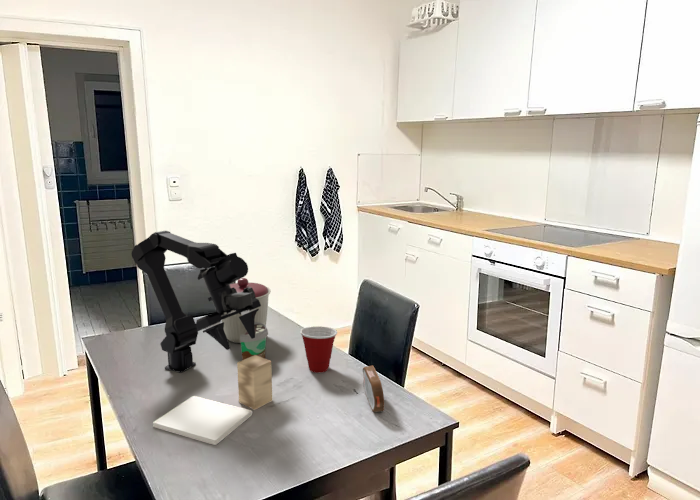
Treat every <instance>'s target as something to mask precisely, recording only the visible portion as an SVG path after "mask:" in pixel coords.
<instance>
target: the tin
mask: <svg viewBox="0 0 700 500" xmlns="http://www.w3.org/2000/svg"><path fill="white" fill-rule="evenodd" d="M362 373H363V383H362V385H363V389H364V393H365V397H366V400H367V402H368V404H369V408H370V410H371V412H373V413H378V412H379V413H380V412H384V411H385V395H384V390H383V389H384V388H383V385H382V382H381V379H380V377H379V374H378V372H377V370H376V368H375V367H374V365H367V366H364V367H363V368H362Z"/></svg>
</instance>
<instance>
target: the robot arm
mask: <svg viewBox="0 0 700 500" xmlns="http://www.w3.org/2000/svg"><path fill="white" fill-rule="evenodd" d="M167 251H170V252H172V253H175V254H177V255H179V256H182V257H184V258H186V260H187V262H188V263H189V264H190V265H192V266H193V267H195V268H196V269H198V270H200V271H199V274H198V275H197V280H198V281H199V280H204V284H205V286H206V289H207V291H208V294H209V297H207V300H208V302H210V303H211V302H212V303H213V306H214V309H215V311H214V312H212V313H210V314H207V315H205V316H202V317H200V318H198V319H196V320H195V318H194V316H193V315H192V314H189V315H187V314H186V313H185V312H184V311H183V310H182V306H181V304H180V302H179V300H178V298H177V295H176V293H175V290H174V289H173V285H172V283H171V281H170V278H169V276H168V274H167V272H166V269H165V263H166V255H165V253H166V252H167ZM131 257H132V259H133V261H134V263H135V265H136V266H137V268H138V269H139V270H140V271H142V272H143V273H145V274H146V275H147V278H148V280H149V282H150V284H151V287H152V289H153V291H154V294H155V296H156V298H157V301H158V303H159V305H160V308H161V310H162V313H163V316H164V318H165V326H164V333H165V337H164V338H163V339H162V340H161V341H160V348H161V351H163V352H166V353H167V362H168V365H166V366H164V369H165V370H168V371H173V372H177V373H184V371H187V370H188V369H190V368H192V367H194V366H196V364H197V363H196V362H195V361H194V360H193V352H192V346H193V345H197V341H198V340H197V339H198V335H199V331H202V330H203V331H202V332H203V333H206V334H207V335H209V336H210V337H211V338H212V339H214V340H215V341H216V342H218V343H219V345H220V346H222V347H223V348H224V349H225V350H226V351H228V350H231V347H230V343H229V340H228V339H227V337H226V334H225V332H224V322H223V323H222V320H223V319H225V318H228V317H230V316H233V315H236V314H238V313H239V314H240V315H242V316H240V317H239V319H240V320H241V322H242V324H243V325H244V327H245V329H246V331H247V332H248V334H249V336H250V337H251V338H252V339H253V338H255V324H254V321H255V315H256V312H257V311H259V309H256V308H258V307H260V306H261V304H260V302H259V300H258V299H257V298H255V292H254V290H253V289H252V287H248V288H245V289H244V290H243V292H239V293H237V291H236V289H235V288H231V287H230V284H234V282H236V281H237V282H238V280H239V279H241V278H245V277H246V276H247V275H248V272H249V266H248V263H247V262H246V261H245V260H244V259H243V258H242V257H240V256H238V254H237V253H236V252H233V253H232V252H231V253H229V254H227V253H226V252H224V251H223V250H222V249H221V248H220V247H219V245H218V244H216V243H209V242H196V241H193V240H190V239H189V238H188V239H187V238H185V237H182V236H179V235H177V234H175V233H171V231H168V230H161V231H155V232H153V233H151V234H150V236H148V237H147V238H145V239H144V240H143V241H142V240H141V241H140V242H138V243H137V244H136V245H134V246H133V249H132V250H131ZM255 309H256V310H255ZM232 310H233V311H232ZM231 311H232V312H231ZM225 312H226V313H227V314H224V313H225ZM203 333H202V334H203Z"/></svg>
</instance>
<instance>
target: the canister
mask: <svg viewBox="0 0 700 500" xmlns="http://www.w3.org/2000/svg"><path fill="white" fill-rule="evenodd" d="M230 287H231V288H235V289H236V291H237V293H239V292H243V290H244V289H245V288H248V287H252V289H253V290H254V292H255V298H257V299H258V300H259V302H260V304H261V306H260V307H258V308H256V309H259V311H257V312H256V315H255V321H254V324H255V322H259V323H263V324H265V325H266V326H267V319H268V307H269V296H270V294H271V289H270V288H269V287H267V286H266V285H264V284H262V283H258V282H249V280H248V278H246V277H243V278H241V279H239V280H237V282H236V283H234V282H233V283H231V284H230ZM256 309H255V310H256ZM232 311H233V310H232ZM232 311H231V312H232ZM224 314H227V313H226V312H225V313H224ZM240 316H242V315H240V314H239V313H238V314H236V315H233V316H230V317H228V318H225V319H223V320H221V323H223V322H224V332H225V334H226V337H227V340H228V342H229V341H230V342H232V343H235V344H236V343H237V344H241V342H240V335H244V334H245V333H246V332H247V331H246V329H245V327H244V325H243V324H242V322H241V320H240V319H239V317H240Z"/></svg>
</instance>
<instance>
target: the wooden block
mask: <svg viewBox="0 0 700 500" xmlns="http://www.w3.org/2000/svg"><path fill="white" fill-rule="evenodd" d="M236 366H237V383H238V384H237V385H238V387H237V389H238V390H237V391H238V403H240V404H241V405H244V406H246V407H248V408H250V409H251V410H254V411H255V410H257V409H259V408H261V407H263V406H264V405H266V404H269V403H271V402H272V401H273V381H272V380H273V379H272V378H273V375H272V374H273V373H272V360H270V359H267V358H266V357H265V358H262V357H259V356H257V355H254V356H252V357H249V358H247V359H244V360H242V359H241V360H239V361H237V363H236Z"/></svg>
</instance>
